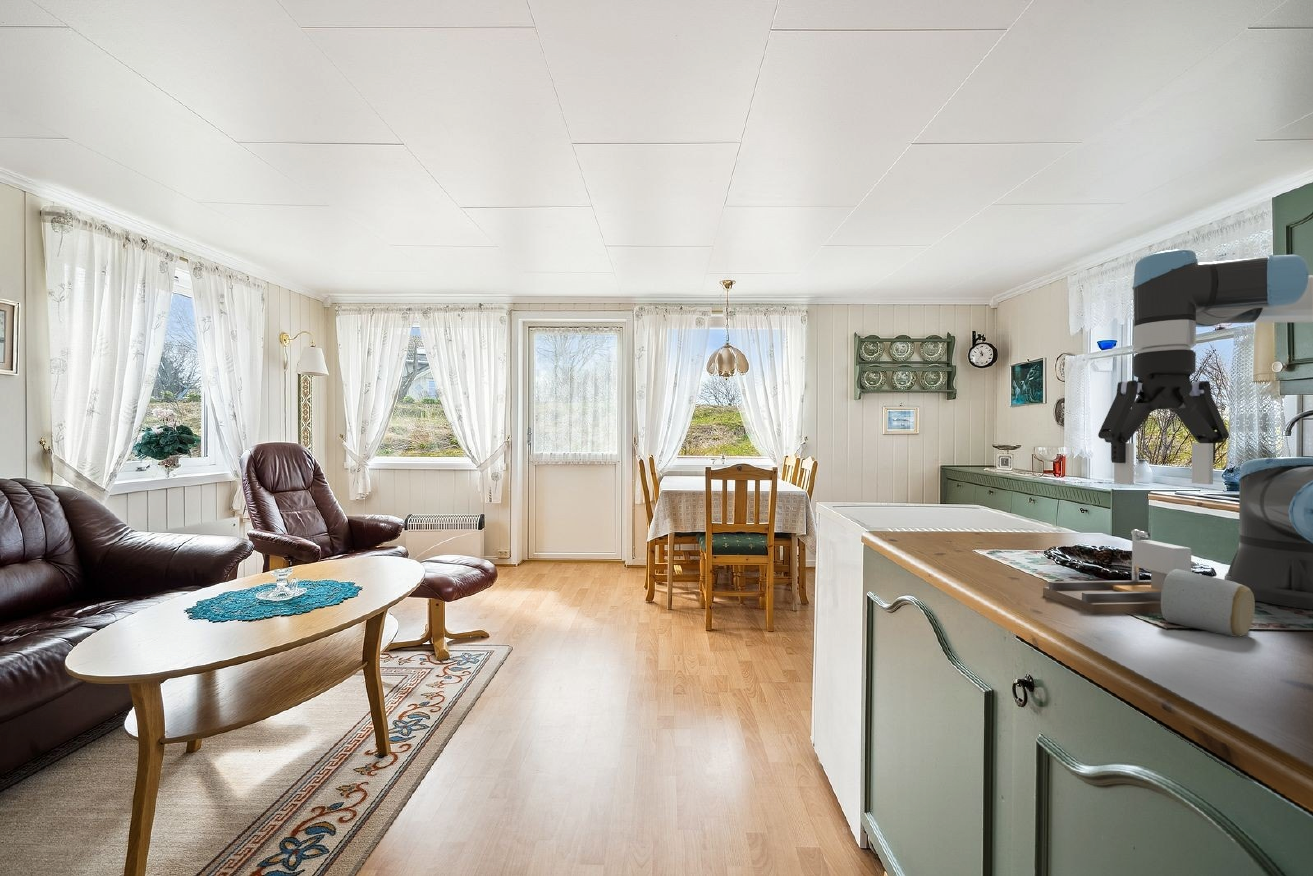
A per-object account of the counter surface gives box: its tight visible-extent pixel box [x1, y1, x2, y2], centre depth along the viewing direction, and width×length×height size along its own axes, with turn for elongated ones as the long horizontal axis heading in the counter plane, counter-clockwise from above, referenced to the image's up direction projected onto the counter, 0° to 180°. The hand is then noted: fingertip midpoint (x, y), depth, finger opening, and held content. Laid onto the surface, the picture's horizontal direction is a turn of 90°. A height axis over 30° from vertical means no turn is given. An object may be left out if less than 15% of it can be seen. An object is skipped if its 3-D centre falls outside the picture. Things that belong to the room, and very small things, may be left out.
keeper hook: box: [1130, 528, 1151, 580], centre depth 96 cm, size 2×3×10 cm
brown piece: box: [1042, 579, 1162, 615], centre depth 92 cm, size 18×10×3 cm, turn 95°
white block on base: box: [1113, 539, 1192, 592], centre depth 93 cm, size 11×7×8 cm, turn 95°
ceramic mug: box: [1161, 569, 1256, 637], centre depth 81 cm, size 11×8×8 cm
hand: (1163, 484), depth 92 cm, fingers open, 13 cm apart
